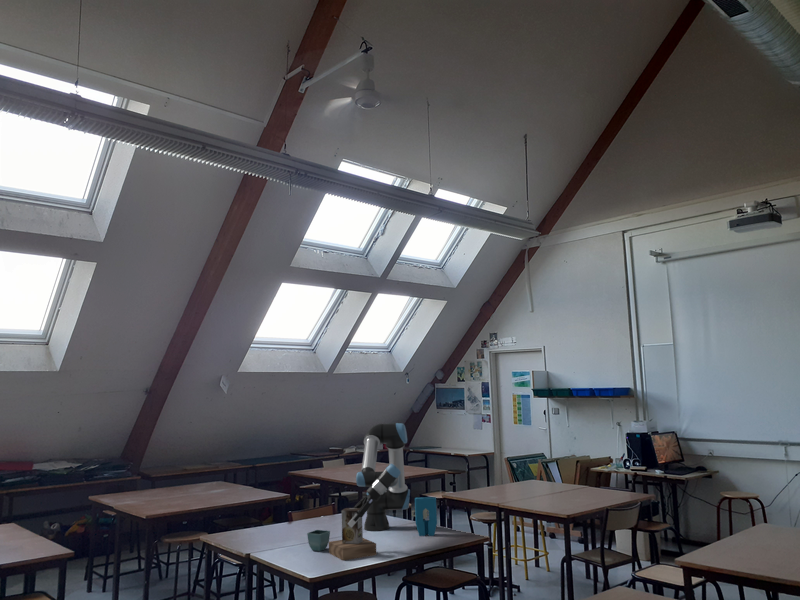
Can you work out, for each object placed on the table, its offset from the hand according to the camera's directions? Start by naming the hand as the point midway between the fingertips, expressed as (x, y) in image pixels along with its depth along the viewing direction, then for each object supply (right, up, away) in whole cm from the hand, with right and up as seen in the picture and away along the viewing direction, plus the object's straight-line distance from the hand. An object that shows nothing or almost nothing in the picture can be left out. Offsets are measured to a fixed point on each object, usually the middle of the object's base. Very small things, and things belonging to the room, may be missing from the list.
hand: (347, 523), depth 298 cm
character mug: (+39, -23, +49) cm, 66 cm away
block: (+42, -20, +35) cm, 58 cm away
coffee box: (+2, -9, -1) cm, 10 cm away
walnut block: (+3, -15, -2) cm, 15 cm away
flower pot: (-16, -17, +8) cm, 25 cm away
